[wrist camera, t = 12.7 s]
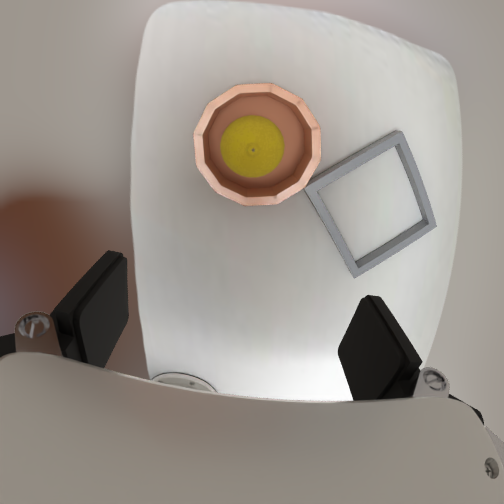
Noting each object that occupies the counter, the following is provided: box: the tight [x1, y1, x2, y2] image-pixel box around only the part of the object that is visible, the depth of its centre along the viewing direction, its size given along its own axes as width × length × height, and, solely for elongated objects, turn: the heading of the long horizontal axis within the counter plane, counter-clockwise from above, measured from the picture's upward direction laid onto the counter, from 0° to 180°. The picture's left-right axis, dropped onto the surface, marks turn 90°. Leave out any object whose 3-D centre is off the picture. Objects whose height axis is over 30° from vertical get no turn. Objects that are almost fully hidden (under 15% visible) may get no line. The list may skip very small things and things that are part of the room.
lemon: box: [220, 115, 285, 178], centre depth 23 cm, size 6×6×8 cm
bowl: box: [193, 83, 321, 206], centre depth 26 cm, size 11×11×4 cm
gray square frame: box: [304, 131, 437, 278], centre depth 30 cm, size 13×13×2 cm
